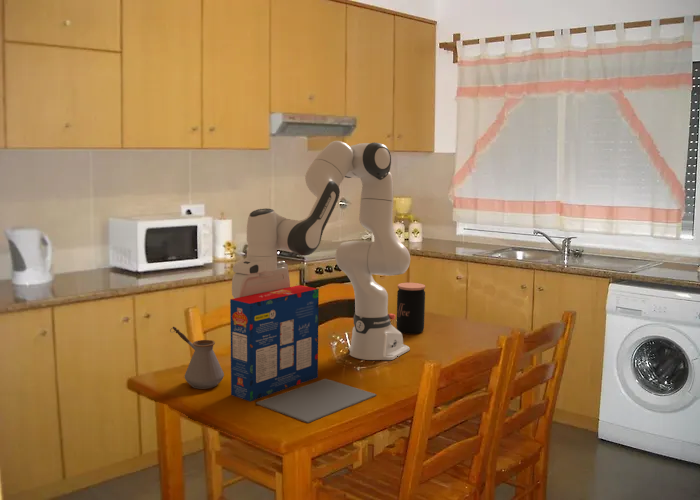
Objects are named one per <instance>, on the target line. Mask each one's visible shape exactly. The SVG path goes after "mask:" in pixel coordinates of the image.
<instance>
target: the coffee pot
mask: <svg viewBox="0 0 700 500" xmlns="http://www.w3.org/2000/svg"><path fill="white" fill-rule="evenodd" d="M172 330H173V333H176V334H177V335H178V336H179V338H180V339H182V340H183V341H184V342H185V343H187V344H188V345H189V346H190V347H191V348H192V349H193V350H194V351H193V354H192V357H191V359H190V361H189V364H188V367H187V369H186V370H185V373H184V379H185V381H186V383H188V385H190V386H191V387H192V388H194V389H199V390H202V389H203V390H206V389H212V388H215V387H217V386H218V385H219V383H221V381H223V379H224V376H225V374H224V371H223V369H222V367H221V364H220V361H219V360H218V358H217V355H216V353H215V352H214V345H215V344H216V342H215V340H211V339H199V340H196V341H193V342H191V340H190V339H189V338H188V337H187V336H186V335H185V334H184V333H183V332H181V331H180V329H177V327H175V326H172V328H170V330H169V331H170V333H172Z"/></svg>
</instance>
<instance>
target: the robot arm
mask: <svg viewBox="0 0 700 500" xmlns="http://www.w3.org/2000/svg"><path fill="white" fill-rule="evenodd" d="M391 165H392V155H391V151H390V150H389V148H388V147H387V145H385V144H383V143H381V142H370V143H369V142H363V143H357V144H352V145H348V143H346V142H344V141H341V140H333V141H331V142H329V144H327V145H326V146H325V147H324V148H323V149H322V150H321V151H320V152H319V153H318V155H317V156H316V157H315V158H314V160H313V161H312V163H311V164H310V165H309V166H308V168H307V171H306V173H305V175H304V176H305V184H306V186H307V188H308V190H309V191H310V192H311V193H312V194H313V195H314V196H315V197H316V199H315V202H314V204H313V206H312V208H311V210H310V212H309V214H308V216H306V217H305V218H304V219H301V220H297V219H296V220H295V219H290V218H286V217H283V216H281V215H280V214H278V213H276V211H275V210H274V209H272V208H259V209H255V210H252V211H251V212H250V213H249V215H248V218H247V223H246V243H247V251H246V257H244V258H243V259H242V260H240V261H238V262H237V263H235V264H234V265H233V266H232V272H234V274H233V276H232V279H231V295H232V297H233V299H234V298H239V297H244V296H249V295H254V294H259V293H263V292H268V291H273V290H278V289H283V288H288V287H291V281H290V273H289V264H287V262H285V261H284V260H280V261H278V252H277V250H280V251H285V252H289V253H294V254H298V255H300V256H304V257H305V256H310V255H312V254H313V253H314V252H315V251H316V250H317V249H318V248H319V246H320V243H321V240H322V236H323V232H324V230H325V228H326V226H327V224H328V222H329V220H330V217H331V216H332V214H333V212H334V209H335V208H336V206H337V203H338V201H339V198H340V194H341V193H340V191H341V190H340V186H341V183H342V182H343V181H344V179H345V178H347V179H350V178H351V179H352V178H354V179H358V178H359V179H360V182H361V184H362V185H361V193H360V203H359V204H360V205H359V218H358V221H359V223H360V225H361V227H362V228H364V229H366V230H367V231H369V232H370V233H372V235H373V240H374V241H365V240H350V241H343V242H341V243H340V244H339V245H338V246H337V248H336V251H335V255H334V257H335V262H336V265H337V267H338V268H339V269H340V270H341V271H342V272H343V273H344V274H345V275H346V276H347V278H348V280H349V281H350V282H351V285H352V288H353V293H354V303H355V304H354V307H355V309H354V311H355V312H354V313H353V318H352V319H353V325H354V326H353V327H352V331H351V341H350V345H349V346H348V350H349V355H350V356H351V357H353V358H355V359H359V360H367V361H380V360H381V361H391V360H392V361H393V360H394V359H396V358H398V357H400V356H402V355H403V354H405V353H407V352H409V351H410V349H411V348H410V347H409V345H406V344H405V343H404V338H403V333H401V332H400V331H398V329H397V327H395V326H394V325H392V324H391V323H392V322H391V320H392V321H394V320H395V319H397V314H395V313H389V311H388V309H389V307H388V306H389V294H388V292H387V290H386V288H385V287H384V286H382V285H380V284H379V283H378V282H376V281H375V279H374V277H373V275H377V276H387V277H388V276H389V277H390V276H398V275H404V274H405V273H406V272H407V271H408V269H409V267H410V265H411V254H410V251H409V249H408V248H407V247H406V246H405V245H404V244H403V243H402V241H400V240H399V238H398V236H397V235H396V232H395V229H394V223H393V219H394V217H393V215H394V214H393V212H394V211H393V209H394V181H393V180H394V179H393V175H392V173H391ZM397 356H398V357H397Z"/></svg>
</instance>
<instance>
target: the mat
mask: <svg viewBox="0 0 700 500" xmlns="http://www.w3.org/2000/svg"><path fill="white" fill-rule="evenodd" d="M374 397H377V394H376V393H374V392H370V391H367V390H364V389H361V388H357V387H353V386H350V385H348V384H344V383H341V382H339V381H335V380H331V379H328V378H323V379H321V380H318V381H315V382H311V383H310V384H309V383H308V384H306V385H303V386H299V387H297V388H294V389H291V390H289V391H286V392H283V393H280V394H277V395H274V396H271V397H268V398H265V399H263V400H259V401H256V402H255V404H256V405H257V406H260V407H263V408H266V409H269V410H271V411H275V412H277V413H280V414H283V415H286V416H288V417H290V418H293V419H296V420H298V421H300V422H301V421H302V422H304V423H306V424H309V423H311V422H314V421H317V420H319V419H322V418H324V417H327V416H329V415H331V414H334V413H337V412H340V411H342V410H344V409H347V408H350V407H352V406H354V405H357V404H359V403H361V402H364V401H367V400H369V399H371V398H374Z"/></svg>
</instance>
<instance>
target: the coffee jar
mask: <svg viewBox="0 0 700 500" xmlns="http://www.w3.org/2000/svg"><path fill="white" fill-rule="evenodd" d="M425 288H426V285H425V284H422V283H420V282H419V283H418V282H402V283H398V284H397V289H398V290H397V292H396V293H397V295H396V296H397V297H396V327H395V328H396V329H397V330H398V331H400V332H401V334H407V335H416V334H420V333H421V334H422V333H423V331H424V330H425V313H426V312H425V311H426V308H425V307H426V291H425Z"/></svg>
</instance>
